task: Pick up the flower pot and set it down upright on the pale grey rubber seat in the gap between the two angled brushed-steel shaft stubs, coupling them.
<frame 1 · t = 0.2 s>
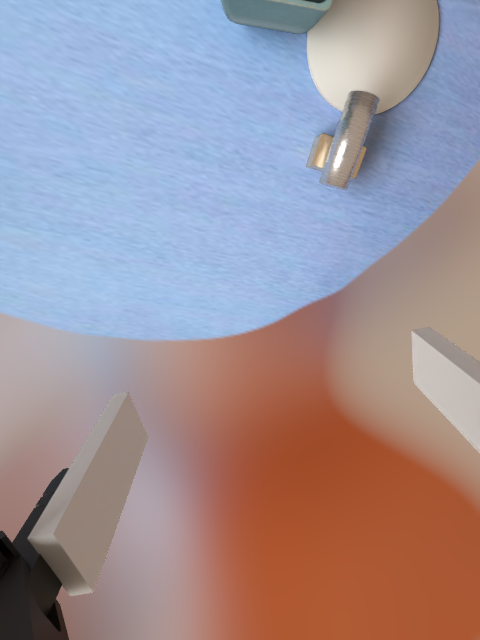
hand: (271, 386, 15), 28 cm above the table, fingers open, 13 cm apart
seat pad: (371, 40, 32), on the table
shaft a: (334, 149, 35), on the table
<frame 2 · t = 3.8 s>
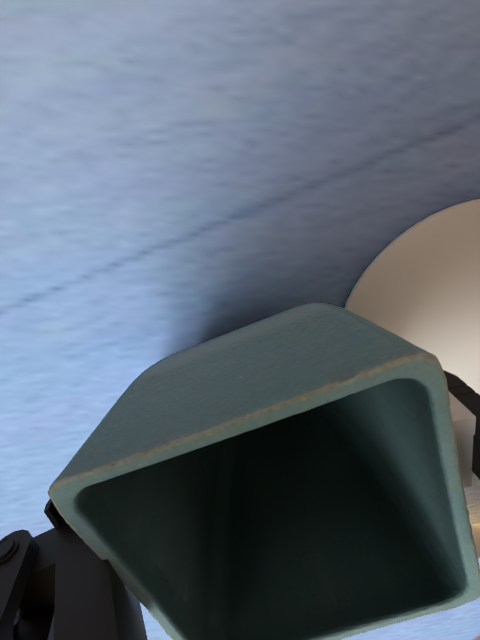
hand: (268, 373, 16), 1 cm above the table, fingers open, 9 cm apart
seat pad: (464, 335, 16), on the table
flower pot: (258, 367, 16), on the table, touching gripper
shaft a: (459, 478, 20), on the table
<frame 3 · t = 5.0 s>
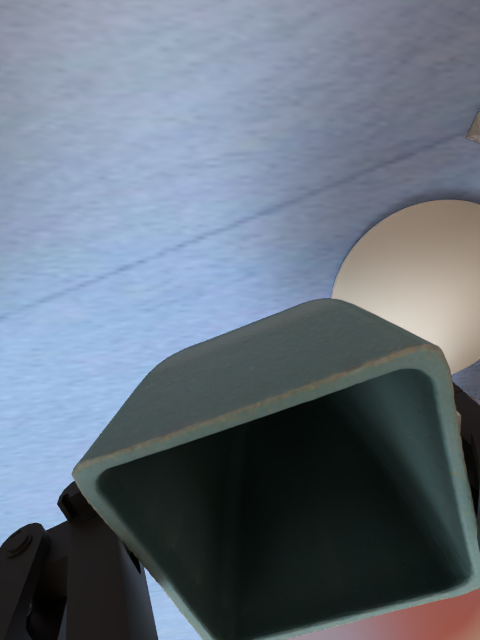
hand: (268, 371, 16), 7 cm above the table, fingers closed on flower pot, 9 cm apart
seat pad: (424, 299, 22), on the table
flower pot: (268, 362, 17), point 6 cm above the table, touching gripper
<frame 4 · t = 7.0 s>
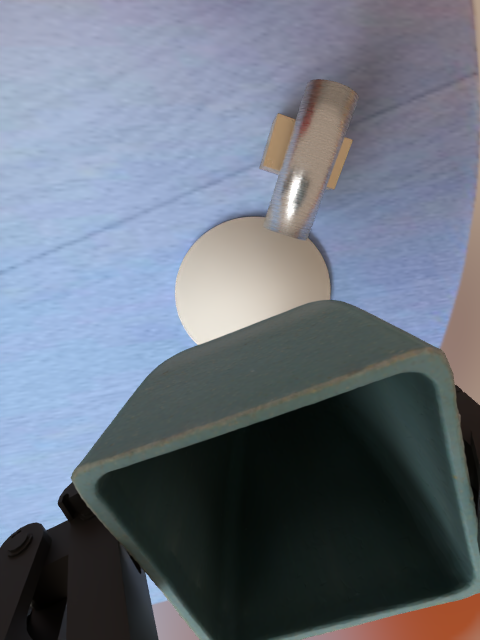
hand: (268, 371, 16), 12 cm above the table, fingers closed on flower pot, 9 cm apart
seat pad: (252, 296, 27), on the table
shaft b: (293, 172, 23), on the table
flower pot: (268, 363, 17), point 11 cm above the table, touching gripper
when the fingers open (2 cm above the table, at t = 9.6 s): flower pot moves 2 cm, resting on seat pad.
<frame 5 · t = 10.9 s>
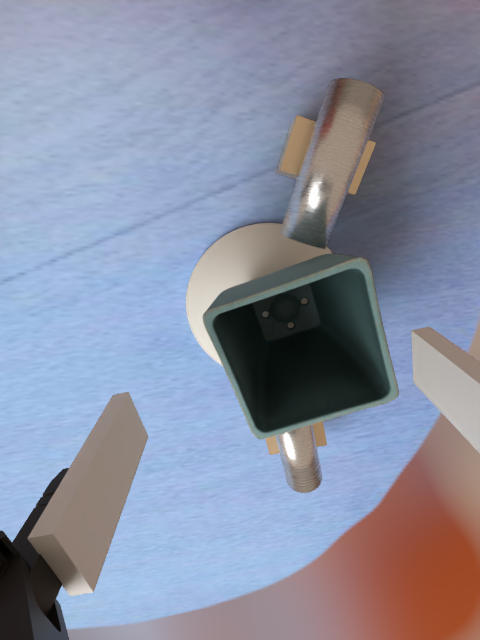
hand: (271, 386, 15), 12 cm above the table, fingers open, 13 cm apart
seat pad: (266, 305, 26), on the table
shaft b: (311, 176, 22), on the table
flower pot: (285, 304, 26), resting on seat pad
shaft a: (288, 405, 29), on the table
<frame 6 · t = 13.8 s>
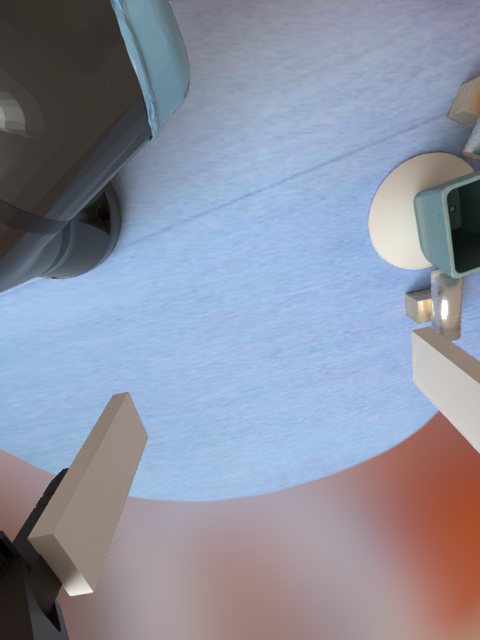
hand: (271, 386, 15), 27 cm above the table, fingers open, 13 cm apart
seat pad: (423, 214, 37), on the table
shaft b: (469, 120, 34), on the table
flower pot: (436, 213, 37), resting on seat pad
shaft a: (424, 293, 41), on the table
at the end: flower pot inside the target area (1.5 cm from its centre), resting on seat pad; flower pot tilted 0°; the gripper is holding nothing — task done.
